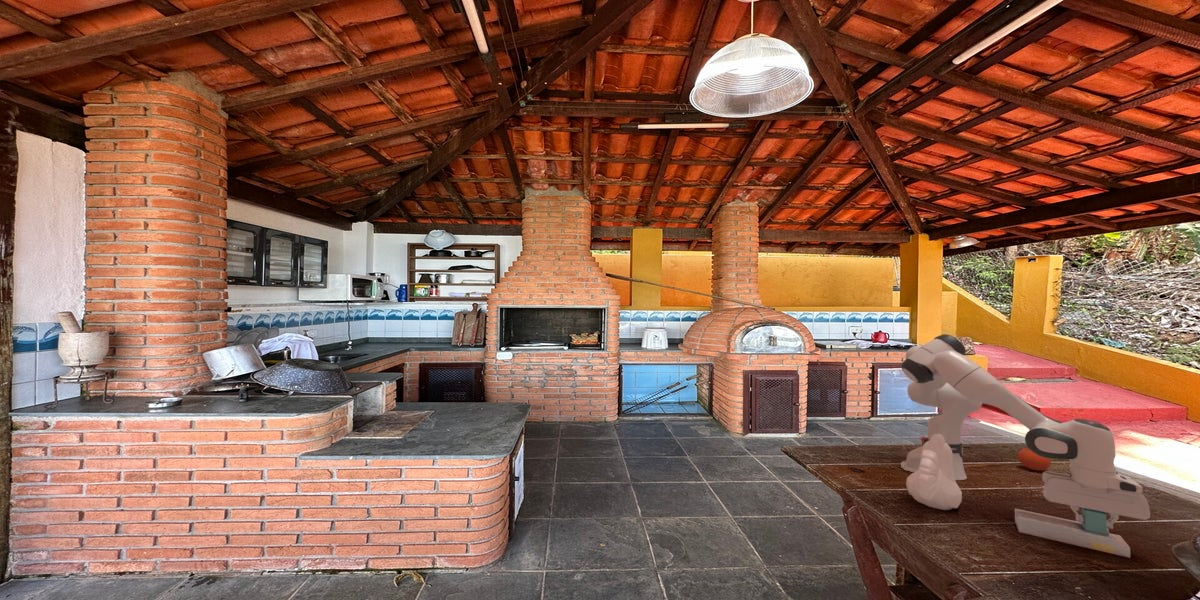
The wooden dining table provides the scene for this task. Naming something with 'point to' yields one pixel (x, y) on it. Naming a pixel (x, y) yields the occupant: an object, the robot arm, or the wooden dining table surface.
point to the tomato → (1033, 460)
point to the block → (1094, 521)
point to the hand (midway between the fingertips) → (1094, 524)
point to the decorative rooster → (935, 476)
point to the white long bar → (1069, 532)
